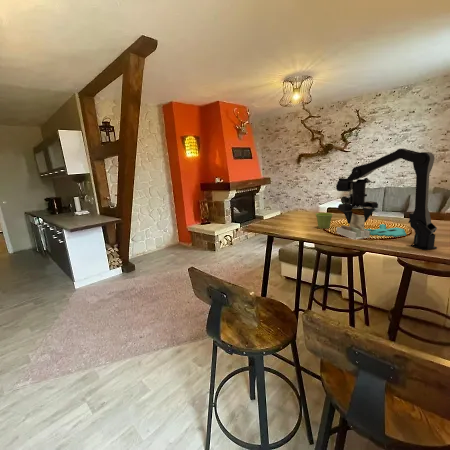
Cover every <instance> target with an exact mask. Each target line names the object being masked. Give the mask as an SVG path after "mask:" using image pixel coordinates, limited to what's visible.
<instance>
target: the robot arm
mask: <svg viewBox="0 0 450 450" xmlns="http://www.w3.org/2000/svg"><path fill="white" fill-rule="evenodd" d="M435 159H436V158H435V155H434V154H433V153H432V152H429V151H424V152H423V151H421V152H419V151H415V150H410V149H408V148H398V149H396V150H395V151H393V152H391V153H388V154H386V155H384V156H382V157H380V158H378V159H375V160H373V161H372V162H369V163H365V164H361V165H357V166H354V167H353V168H352V170H351V173H350V174H349V175H348V177H347V178H344V177H340V178H338V181H337V183H336V184H335V185H336V186H335V187H336V191H337V192H345V193H346V192H347V193H348V192H349V193H350V192H352V193H350V195H349V197H347V196H346V195H345V196H341V197H340V198H341V199H340V201H341V203H339V204H338V206H337V210H339V211H340V212H343V214H344V216H345V219H346V222H347V224H348V225H350V222H351V217H352V214H353V209H361V208H362V210H363V216H364V217H365V222H364V223H367V221H368V219H370V217H371V215H372V213H373V212H374V211H375V210H376V209H378V208H379V204H378V202H377V201H372V200H371V201H370V200H369V201H366V197H368V193H366V189H367V188H366V186H367V184H369V183H371V182H372V181H371V180H370V179H369V178H368V177H367V176H369V175H371V174H372V173H373V172H374V171H376V170H378V169H380V168H382V167H385V166H387V165H389V164H392V163H394V162H397V161H399V160H404V161H407V162H410V163H412V165H413V170H414V172H415V177H416V180H415V196H414V197H415V198H414V199H415V200H414V201H415V202H414V203H415V204H414V210H413V211H411V212H410V213H408V218H409V219H408V224H409V225H410V228H412V229H413V230H414V237H413V243H412V244H410V246H411V247H414V248H417V249H420V250H423V251H428V250H435V249H437V246H435V241H436V234H434V233H435V232H436V231H437V230H438V227H437V226H436V225H435V224H434V223H432V220H431V219H432V218H431V213H430V210H429V208H428V206H429V190H430V189H429V188H430V187H429V186H430V174H431V171H432V169H433V166H434V164H435ZM351 190H352V191H351Z"/></svg>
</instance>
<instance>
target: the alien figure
mask: <svg viewBox="0 0 450 450" xmlns="http://www.w3.org/2000/svg"><path fill="white" fill-rule="evenodd" d="M378 226H379V228H374V229H373V228H364V230H367V231H370V236H379V237H383V236H385V237H388V238H389V237H394V238H398V237H404V236H405V237H406V236H407V233H406V229H405V228H400V227H391V228H390V227H389V228H387V224H383V223H381V224H379V225H378Z"/></svg>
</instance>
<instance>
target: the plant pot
mask: <svg viewBox="0 0 450 450" xmlns="http://www.w3.org/2000/svg"><path fill="white" fill-rule="evenodd" d="M333 215H334V214H333V213H331V212H318V213H315V217H316V220H317V221H316V222H317V227H318V228H319V229H329V228H330V227H331V222H332V217H333Z"/></svg>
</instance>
